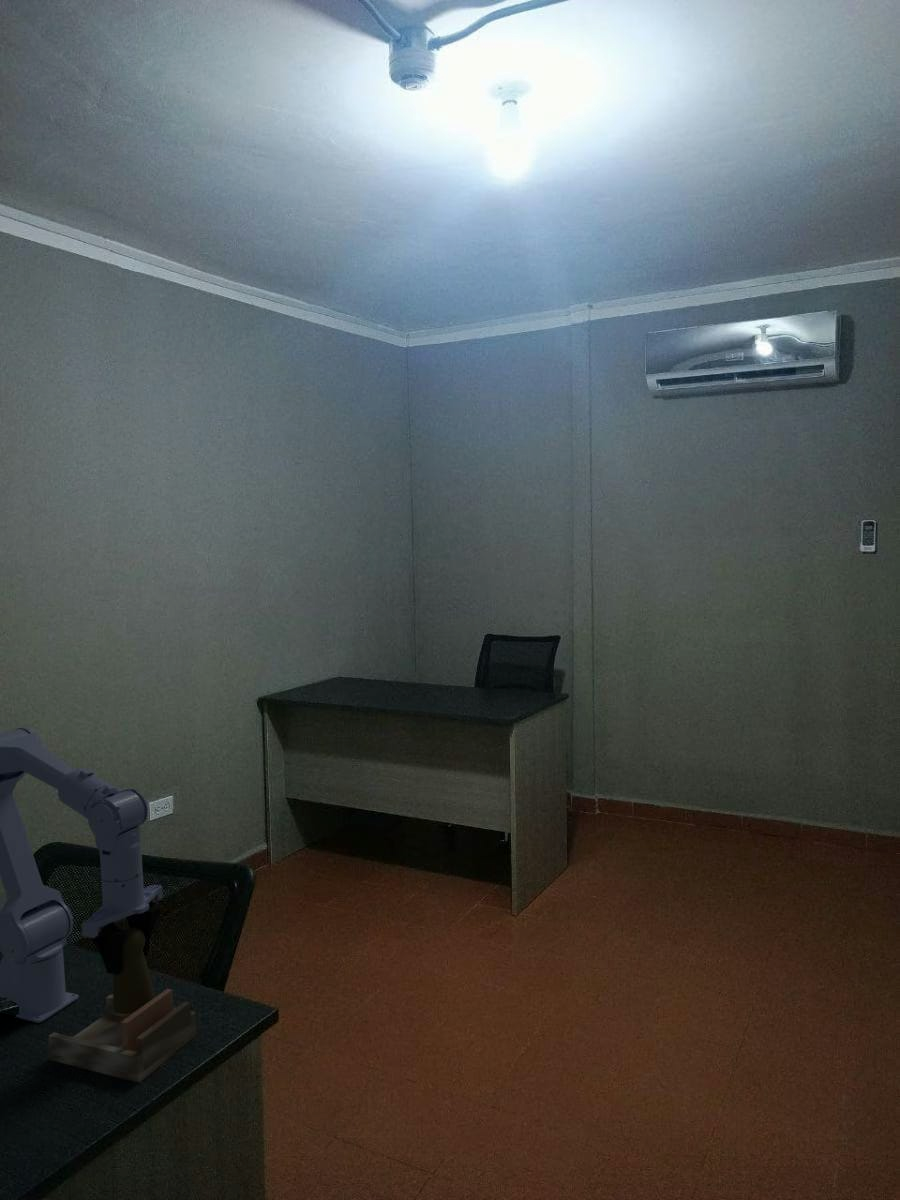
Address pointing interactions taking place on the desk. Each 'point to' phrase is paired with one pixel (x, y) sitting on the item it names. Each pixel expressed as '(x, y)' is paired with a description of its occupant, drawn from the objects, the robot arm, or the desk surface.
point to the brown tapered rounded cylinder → (132, 975)
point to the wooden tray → (105, 1050)
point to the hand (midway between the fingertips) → (127, 963)
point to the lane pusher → (145, 1018)
